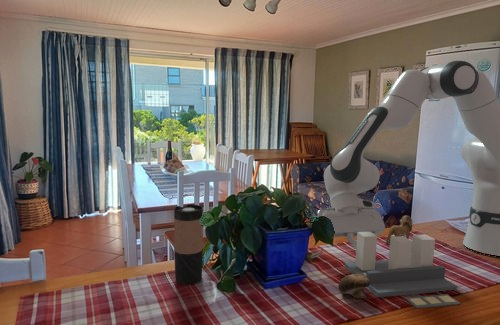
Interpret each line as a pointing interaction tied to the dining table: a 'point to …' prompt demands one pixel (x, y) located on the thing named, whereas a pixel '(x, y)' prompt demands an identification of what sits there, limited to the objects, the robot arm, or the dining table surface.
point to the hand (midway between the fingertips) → (359, 248)
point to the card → (432, 301)
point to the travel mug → (188, 244)
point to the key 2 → (422, 251)
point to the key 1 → (366, 250)
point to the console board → (403, 279)
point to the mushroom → (354, 285)
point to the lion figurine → (401, 228)
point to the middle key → (399, 252)
